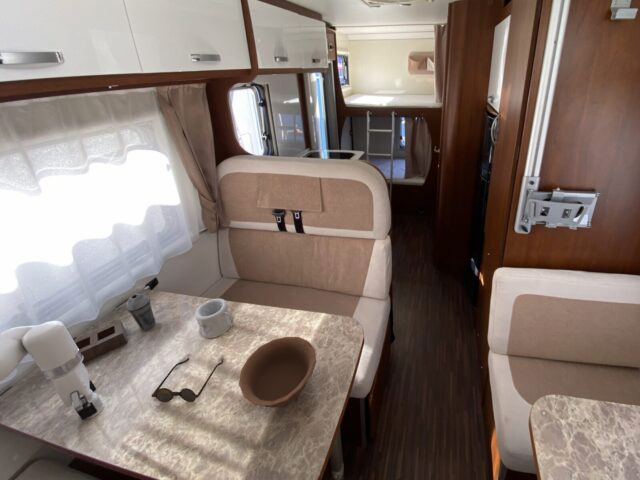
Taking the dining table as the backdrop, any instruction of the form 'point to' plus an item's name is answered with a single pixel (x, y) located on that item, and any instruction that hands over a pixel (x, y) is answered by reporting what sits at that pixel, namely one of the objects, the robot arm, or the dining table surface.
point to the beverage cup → (141, 310)
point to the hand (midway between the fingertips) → (89, 403)
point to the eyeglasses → (185, 393)
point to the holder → (101, 341)
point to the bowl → (277, 371)
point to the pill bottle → (94, 402)
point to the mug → (214, 318)
